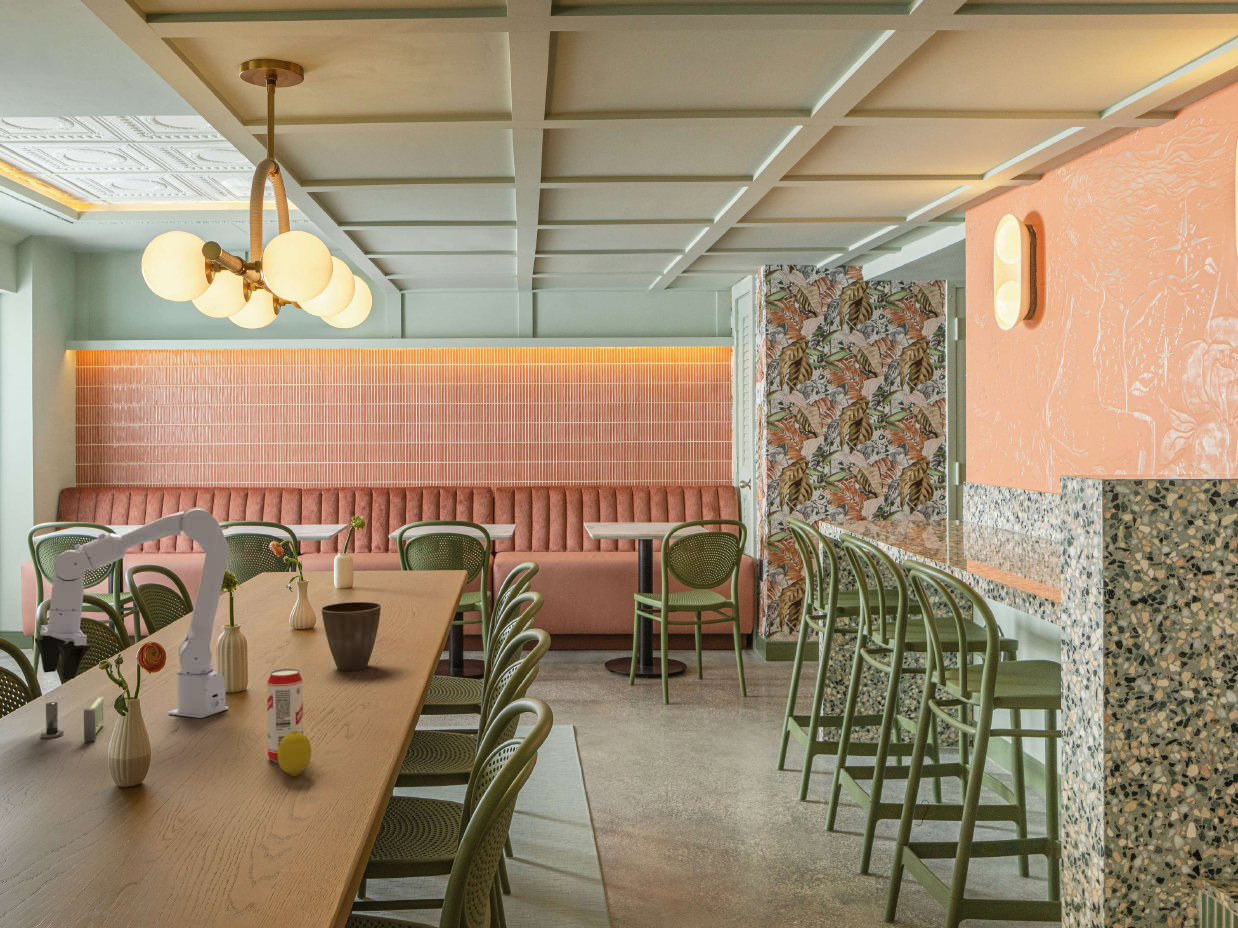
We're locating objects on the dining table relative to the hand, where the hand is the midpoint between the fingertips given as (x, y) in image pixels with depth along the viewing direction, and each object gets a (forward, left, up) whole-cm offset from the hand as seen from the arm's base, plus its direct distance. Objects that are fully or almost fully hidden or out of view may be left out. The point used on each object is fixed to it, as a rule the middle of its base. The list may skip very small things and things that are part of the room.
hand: (58, 674), depth 195 cm
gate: (-11, +1, -10) cm, 15 cm away
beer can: (-57, -1, -11) cm, 58 cm away
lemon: (-65, +6, -11) cm, 67 cm away
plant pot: (-23, -65, -11) cm, 70 cm away
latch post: (-4, +5, -11) cm, 12 cm away
